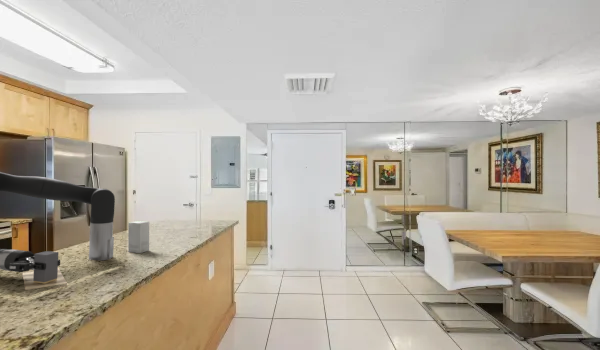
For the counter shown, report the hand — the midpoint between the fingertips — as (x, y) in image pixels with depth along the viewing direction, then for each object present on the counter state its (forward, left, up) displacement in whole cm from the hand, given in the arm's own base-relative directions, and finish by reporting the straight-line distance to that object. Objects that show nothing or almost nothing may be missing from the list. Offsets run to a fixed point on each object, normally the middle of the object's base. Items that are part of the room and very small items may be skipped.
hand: (52, 264), depth 108 cm
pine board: (+5, -6, -7) cm, 11 cm away
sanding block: (+2, -1, -6) cm, 7 cm away
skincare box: (-19, -48, -8) cm, 52 cm away
